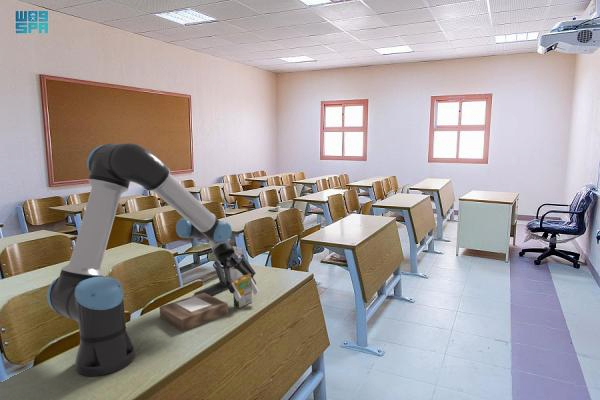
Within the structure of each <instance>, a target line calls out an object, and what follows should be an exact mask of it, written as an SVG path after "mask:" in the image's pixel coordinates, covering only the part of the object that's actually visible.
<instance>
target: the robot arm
mask: <svg viewBox="0 0 600 400" xmlns="http://www.w3.org/2000/svg"><path fill="white" fill-rule="evenodd" d="M86 167H87V169H88V171H89V177H88V182H89V184H90V186H91V189H90V191H89V192H90V193H89V196H88V199H87V202H86V206H85V210H84V213H83V216H82V219H81V223H80V226H79V229H78V234H77V235H76V239H75V243H74V246H73V249H72V253H71V257H70V259H69V263H68V264H66V265H65V266H63V267H62V268H61V270H60V273H59V275H58V276H57V277H56V278H55V279H54V280H52V281H51V283H50V285H49V287H48V288H47V289H48V290H47V293H46V298H47V299H46V300H47V302H48V305H49V306H50V308H51V310H52V311H55V313H57V314H58V315H60V316H63V317H66V318H68V319H70V320H73V321H75V322H77V323H78V330H79V339H80V341H79V346H78V350H77V354H76V357H75V370H76V372H77V373H78V374H79V375H82V376H85V377H99V376H105V375H108V374H111V373H114V372H118V371H119V370H121V369H123V368H124V369H125V368H126V367H127V366H128V365H130V364H131V363H132V362H133V360H134V359H135V358H136V350H135V345H134V343H133V342H132V339H131V338H130V336H129V333H128V332H127V325H126V314H125V313H126V312H125V311H126V310H125V301H124V297H125V293H124V290H123V285H122V283H121V282H120V280H118V279H116V278H114V277H110V276H105V275H104V273H103V271H102V269H101V266H102V264H103V260H104V257H105V254H106V253H105V252H106V251H107V247H108V243H109V239H110V235H111V232H112V229H113V228H112V227H113V224H114V220H115V217H116V215H117V210H118V208H119V202H120V200H121V195H122V194H124V193H126V192H128V191H129V187H130V184H131V182H132V183H135V184H137V185H140V186H141V187H143V189H145V190H146V191H148V192H151V191H152V192H153V193H155V194H156V195H157V196H158V197H159V198H161V199H162V201H164V202H165V203H167V205H169V206H170V207H171V208H173V209H174V211H176V213H178V214H179V215H180V216H181V218H180V219H178V221H177V222H176V224H175V225H176V226H175V231H176V234H177V236H179V238H182V239H183V238H185V239H199V240H202V241H203V240H205V241H207V243H208V244H209V246H210V248H211V250H212V252H213V254H214V256H215V257H216V259H217V260H214V262H213V263H212V266H213V268H214V270H215V272H216V275H217V277H218V280H219V283H220V284H221V286H225V287H226V288H228V291H229V293H230V294H232V295H234V296H233V298H234V297H235V299H236V301H239V300H240V298H241V296H240V294H239V292H238V290H237V288H236V286H235V284H234V281H231V276H230V268H231V267H234V268H235V269H237V270H238V271H240V272H241V273H242V274H243V275H244V276H245V275H247V274H250V273H251V289H252V293H253V295H254V296H256V295H257V294H258V293H259V292H260V290H259V288H258V287H257V282H256V281H255V278H254V277H255V276H256V271H255V269H254V268H253V267H252V266H251V264H250V263H249V262H248V260H247V259H246V257H245V253H244V254H242V255H241V256H238V255H237V254H235V252H234V248H233V245H232V243H231V242H230V238H231V236H232V235H233V234H232V232H233V231H232V230H233V228H232V226H231V224H230V223H228V222H226V221H223V220H219V219H218V218H217V216H216V214H214V213H213V212H211V211H209V209H208V208H206V206H204V204H202V203H201V202H200V201H199V199H197V198H196V197H195V196H194V195H193V194H192V193H191V192H190V191H188V189H187V188H186V187H185V186H184V185H182V184H181V182H179V180H177V179H176V178H175V177H174V176H173V175H172V174H171V169H170V168H169V167H168V166H167V165H166V164H165V163H164V162H163V161H162V160H161V159H160V158H159V157H157V156H156V155H155V154H154V153H153V152H151V151H150V150H148V149H147V148H146V147H144V146H142V145H139V144H136V143H133V142H132V143H131V142H129V143H126V142H125V143H107V144H102V145H99V146H97V147H95V148H94V149H92V151H90V153H89V155H88V157H87V160H86ZM238 260H239V261H238ZM240 262H241V263H240ZM236 264H237V265H236ZM241 264H242V265H241ZM222 267H223V269H222ZM223 271H224V272H223ZM246 277H247V276H246Z"/></svg>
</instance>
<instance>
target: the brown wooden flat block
mask: <svg viewBox="0 0 600 400" xmlns="http://www.w3.org/2000/svg"><path fill="white" fill-rule="evenodd" d="M228 305H229V304H228V303H227V302H225V301H223V300H220V299H219V298H217V297H214V296H210V295H208V294H206V293H201V294H198V295H195V296H194V295H192V296H190V297H185V298H182V299H179V300H176V301H173V302H170V303H167V304H164V305H161V306H159V317H160V318H161V319H162V320H164V321H166V323H169V324H170V325H171V326H173V327H175V328H176V329H178V330H180V331H181V332H184V331H186V330H187V331H188V330H190V329H192V328H195V327H198V326H200V325H203V324H205V323H208V322H210V321H213V320H216V319H219V318H222V317H224V316H227V315H228V314H229V306H228Z"/></svg>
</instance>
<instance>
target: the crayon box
mask: <svg viewBox="0 0 600 400" xmlns="http://www.w3.org/2000/svg"><path fill="white" fill-rule="evenodd" d="M246 276H247V277H246ZM233 282H234V284H235V286H236V288H237V290H238V292H239V294H240V296H241V298H240V300H239V301H236V299H235V297H234V295H233V294H232V295H233V307H234V308H238V309H240V308H243V307H244V306H247V305H249V304H251V303H253V294H252V293H253V291H252V289H251V273H250V274H247V275H245V276H242V277H240V278H238V280H236V281H233Z"/></svg>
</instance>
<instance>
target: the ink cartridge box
mask: <svg viewBox="0 0 600 400" xmlns="http://www.w3.org/2000/svg"><path fill="white" fill-rule="evenodd" d="M232 247H233V248H234V252H235V254H237V255H238V256H241V255H242V254H244V255H245V252H244V251H245V250H244V249H243V248H241V247H238V246H234V245H232ZM238 261H239V260H238ZM240 263H241V262H240ZM236 265H237V264H236ZM241 265H242V264H241ZM230 276H231V282H234V281H236V280H238V278H240V277H242V276H244V275H243V274H242V273H241V272H240V271H238V270H237V269H235V268H234V267H231V268H230Z"/></svg>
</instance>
